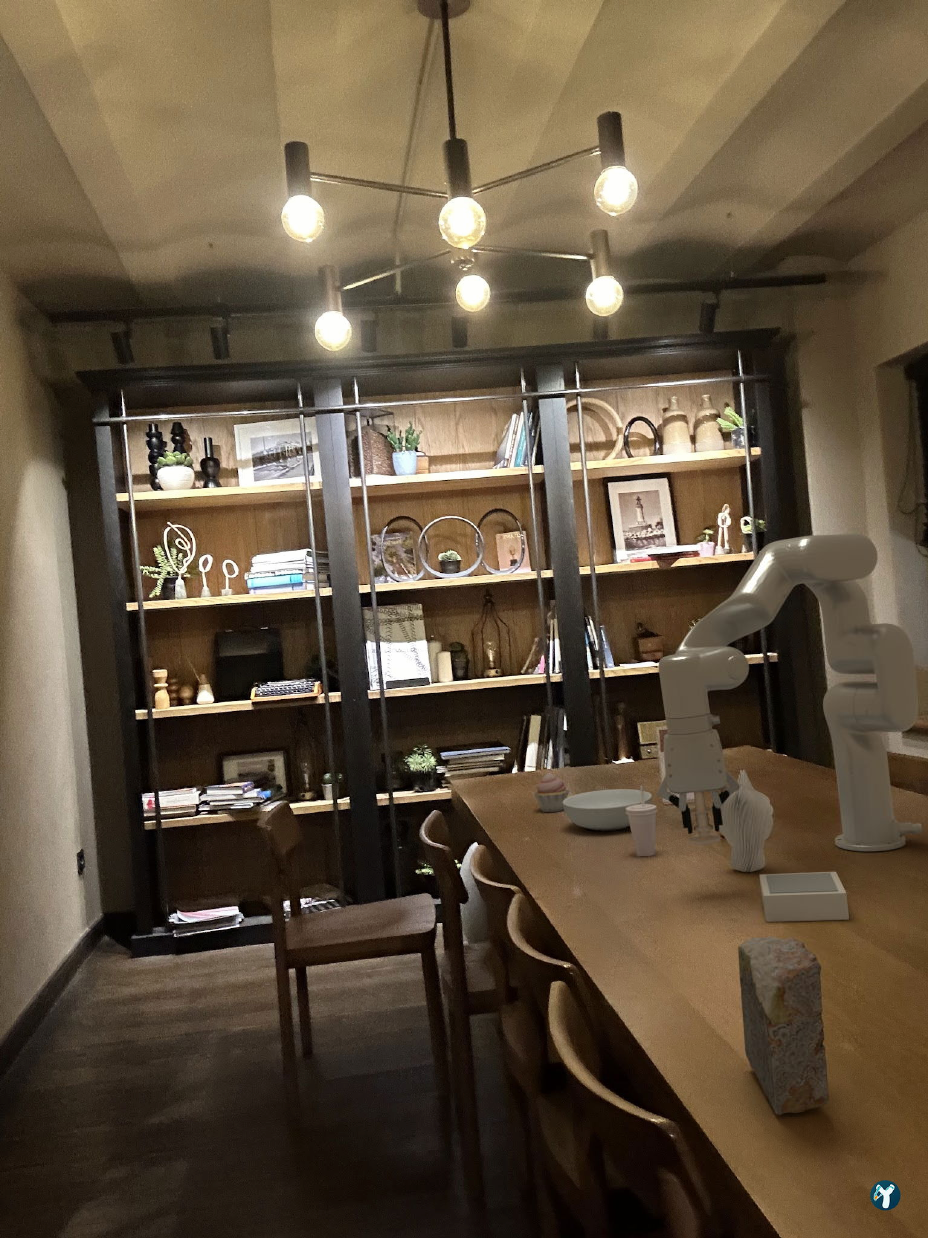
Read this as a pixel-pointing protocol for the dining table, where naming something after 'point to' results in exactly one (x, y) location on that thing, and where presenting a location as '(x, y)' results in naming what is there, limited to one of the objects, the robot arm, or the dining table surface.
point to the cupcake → (551, 793)
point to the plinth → (803, 897)
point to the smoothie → (643, 826)
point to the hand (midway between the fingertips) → (703, 829)
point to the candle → (702, 822)
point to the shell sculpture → (746, 825)
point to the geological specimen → (784, 1022)
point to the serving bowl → (603, 808)
